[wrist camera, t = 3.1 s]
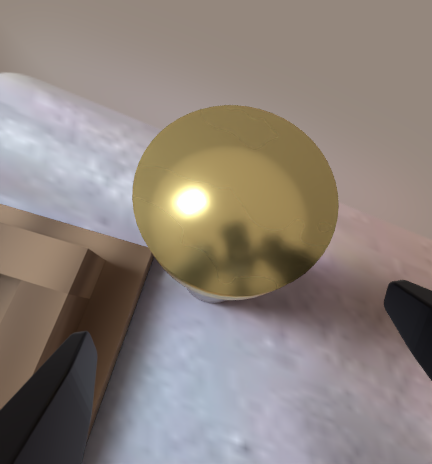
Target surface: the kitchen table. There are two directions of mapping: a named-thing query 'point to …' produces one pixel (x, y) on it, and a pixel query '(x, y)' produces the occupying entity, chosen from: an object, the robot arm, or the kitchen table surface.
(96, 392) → the block
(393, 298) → the robot arm
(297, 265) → the pin
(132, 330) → the kitchen table surface
